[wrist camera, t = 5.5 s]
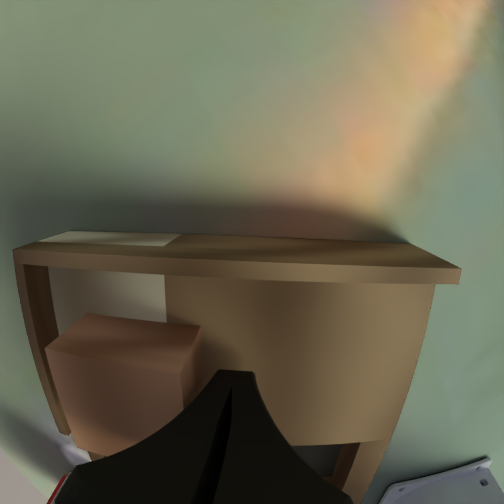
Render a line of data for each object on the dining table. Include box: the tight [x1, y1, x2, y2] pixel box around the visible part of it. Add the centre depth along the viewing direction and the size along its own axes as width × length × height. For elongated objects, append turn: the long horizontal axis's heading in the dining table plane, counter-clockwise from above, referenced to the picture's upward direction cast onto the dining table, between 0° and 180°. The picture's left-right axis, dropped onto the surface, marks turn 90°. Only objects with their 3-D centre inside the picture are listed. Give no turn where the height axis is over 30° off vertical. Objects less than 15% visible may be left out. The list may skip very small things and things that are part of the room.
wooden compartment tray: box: [13, 231, 461, 504], centre depth 12 cm, size 15×15×4 cm
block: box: [45, 313, 203, 456], centre depth 10 cm, size 4×4×3 cm
